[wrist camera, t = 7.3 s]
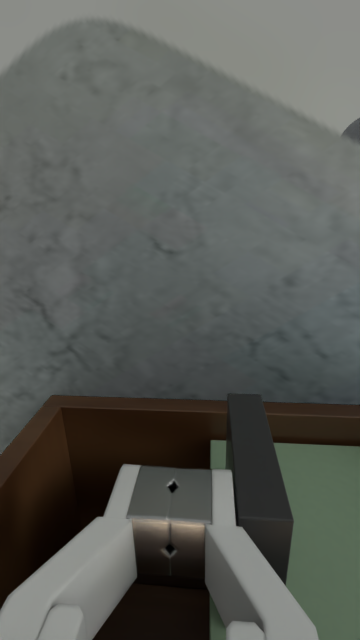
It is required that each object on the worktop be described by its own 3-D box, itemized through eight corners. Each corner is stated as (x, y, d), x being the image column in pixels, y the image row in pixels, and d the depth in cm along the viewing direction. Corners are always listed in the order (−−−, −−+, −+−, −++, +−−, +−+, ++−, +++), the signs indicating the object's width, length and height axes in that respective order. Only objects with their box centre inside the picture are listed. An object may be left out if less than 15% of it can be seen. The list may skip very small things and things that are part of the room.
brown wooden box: (51, 394, 17) (-210, 699, 6) (442, 407, 15) (970, 862, 5) (82, 567, 21) (-44, 917, 11) (389, 592, 19) (597, 1044, 9)
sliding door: (211, 363, 14) (210, 580, 6) (411, 367, 13) (732, 624, 5) (210, 449, 15) (208, 715, 7) (390, 458, 15) (610, 765, 7)
